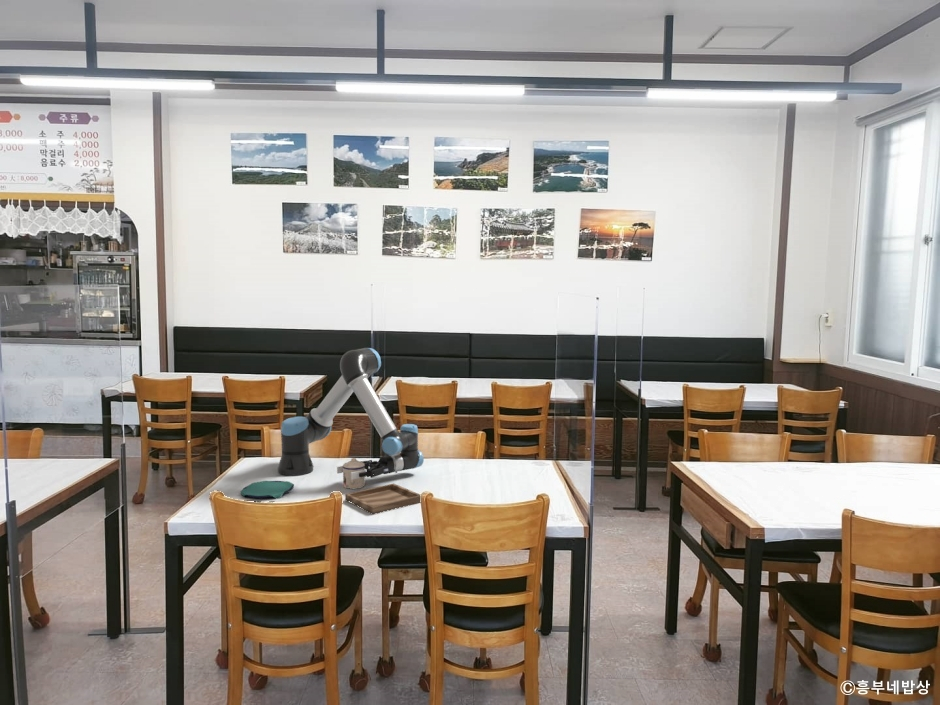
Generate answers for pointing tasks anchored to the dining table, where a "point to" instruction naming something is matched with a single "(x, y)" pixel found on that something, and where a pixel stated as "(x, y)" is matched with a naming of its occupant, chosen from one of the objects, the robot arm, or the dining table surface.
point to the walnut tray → (383, 498)
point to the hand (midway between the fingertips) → (344, 473)
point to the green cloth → (267, 489)
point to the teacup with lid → (347, 469)
